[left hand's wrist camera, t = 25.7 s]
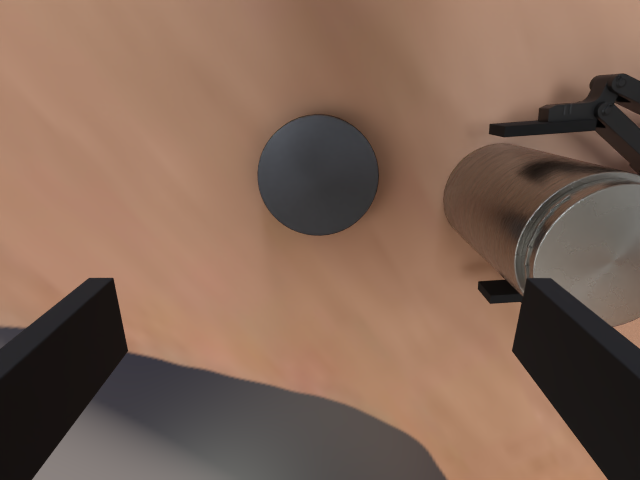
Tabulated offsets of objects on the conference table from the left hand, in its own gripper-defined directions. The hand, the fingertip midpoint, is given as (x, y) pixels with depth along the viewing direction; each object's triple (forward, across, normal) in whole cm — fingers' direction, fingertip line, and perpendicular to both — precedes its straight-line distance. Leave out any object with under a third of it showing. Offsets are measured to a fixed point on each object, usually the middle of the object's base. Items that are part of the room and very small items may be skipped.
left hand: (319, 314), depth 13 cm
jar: (+26, +17, -2) cm, 31 cm away
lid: (+25, 0, 0) cm, 25 cm away
